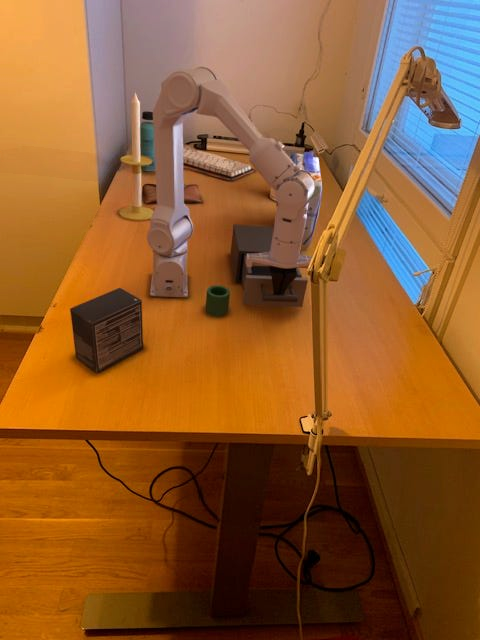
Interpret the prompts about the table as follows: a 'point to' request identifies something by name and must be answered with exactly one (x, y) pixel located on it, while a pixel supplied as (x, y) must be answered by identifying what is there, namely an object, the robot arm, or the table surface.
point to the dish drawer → (269, 287)
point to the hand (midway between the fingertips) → (277, 297)
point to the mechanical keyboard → (213, 164)
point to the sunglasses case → (189, 193)
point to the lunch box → (313, 167)
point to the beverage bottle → (147, 140)
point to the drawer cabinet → (248, 244)
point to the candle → (136, 169)
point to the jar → (217, 300)
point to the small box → (107, 329)
